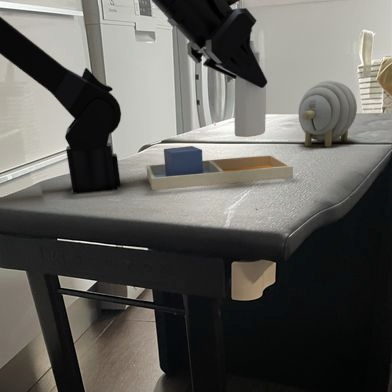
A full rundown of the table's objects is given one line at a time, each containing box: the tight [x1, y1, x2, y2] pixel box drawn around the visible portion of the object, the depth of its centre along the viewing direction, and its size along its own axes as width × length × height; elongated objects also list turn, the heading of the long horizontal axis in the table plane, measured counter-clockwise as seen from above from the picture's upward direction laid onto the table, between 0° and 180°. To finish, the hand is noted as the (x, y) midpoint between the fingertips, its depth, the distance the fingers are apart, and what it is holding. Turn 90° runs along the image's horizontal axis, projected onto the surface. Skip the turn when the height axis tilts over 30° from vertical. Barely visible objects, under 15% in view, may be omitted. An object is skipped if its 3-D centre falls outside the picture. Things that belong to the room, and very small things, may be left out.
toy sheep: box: [298, 80, 358, 148], centre depth 104 cm, size 11×17×11 cm, turn 148°
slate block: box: [163, 145, 204, 177], centre depth 79 cm, size 4×4×4 cm
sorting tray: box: [145, 154, 294, 191], centre depth 81 cm, size 20×11×2 cm, turn 99°
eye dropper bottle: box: [233, 40, 267, 138], centre depth 77 cm, size 4×6×12 cm
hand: (259, 84), depth 77 cm, fingers closed on eye dropper bottle, 5 cm apart
